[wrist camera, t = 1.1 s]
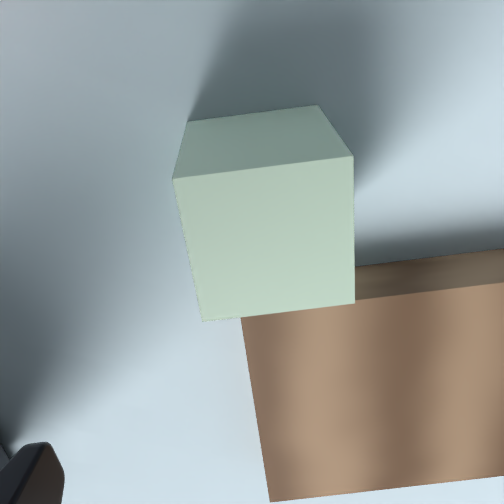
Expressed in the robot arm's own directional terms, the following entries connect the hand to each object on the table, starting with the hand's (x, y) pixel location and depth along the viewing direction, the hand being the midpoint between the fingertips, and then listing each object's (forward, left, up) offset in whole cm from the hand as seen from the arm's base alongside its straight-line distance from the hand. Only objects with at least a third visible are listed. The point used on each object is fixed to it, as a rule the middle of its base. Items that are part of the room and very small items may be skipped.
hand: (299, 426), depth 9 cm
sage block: (0, 0, -13) cm, 13 cm away
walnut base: (+5, -11, -13) cm, 18 cm away
